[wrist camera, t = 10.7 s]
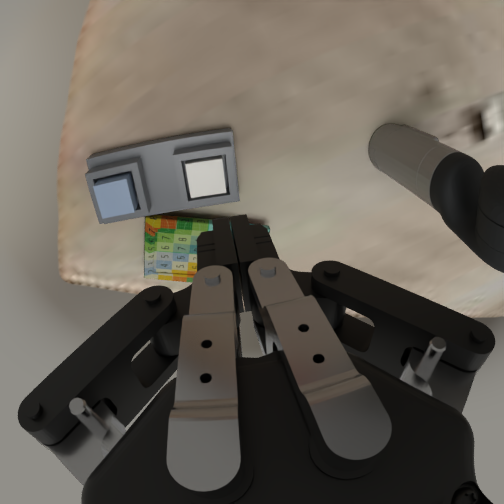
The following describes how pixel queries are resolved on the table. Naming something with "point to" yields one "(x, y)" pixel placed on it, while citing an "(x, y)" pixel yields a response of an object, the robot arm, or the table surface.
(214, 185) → the white key
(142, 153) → the grey plastic block
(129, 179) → the blue key
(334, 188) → the table surface
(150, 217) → the puzzle game
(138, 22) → the table surface
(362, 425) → the robot arm
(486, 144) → the table surface
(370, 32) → the table surface
